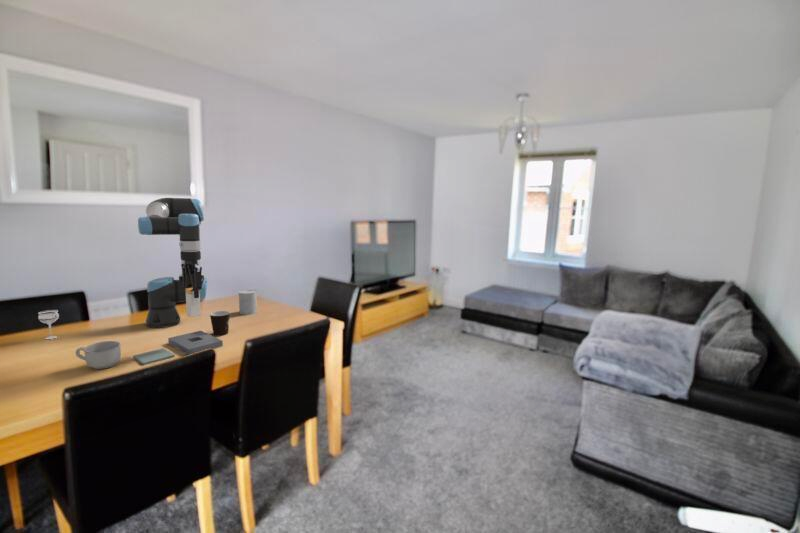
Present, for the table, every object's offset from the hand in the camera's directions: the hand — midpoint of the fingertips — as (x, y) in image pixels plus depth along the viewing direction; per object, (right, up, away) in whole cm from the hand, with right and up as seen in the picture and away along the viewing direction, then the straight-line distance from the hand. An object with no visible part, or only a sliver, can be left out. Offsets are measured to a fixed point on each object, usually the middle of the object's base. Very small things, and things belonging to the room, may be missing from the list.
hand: (193, 303), depth 163 cm
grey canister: (+2, -11, +54) cm, 55 cm away
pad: (-9, -20, -12) cm, 25 cm away
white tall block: (0, -5, +1) cm, 5 cm away
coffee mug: (+4, -16, +19) cm, 25 cm away
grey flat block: (-1, -18, +3) cm, 18 cm away
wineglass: (-66, -16, +5) cm, 69 cm away
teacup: (-24, -22, -21) cm, 38 cm away
